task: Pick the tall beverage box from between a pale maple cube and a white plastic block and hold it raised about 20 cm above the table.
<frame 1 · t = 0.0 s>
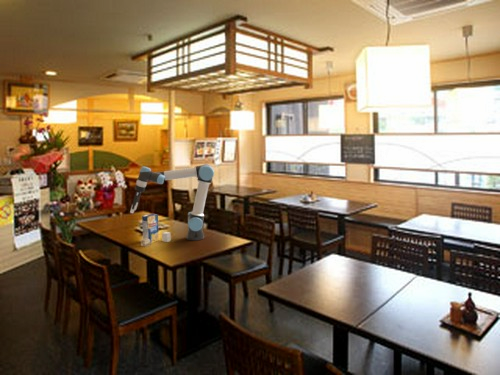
hand: (132, 211, 290), 28 cm above the table, tool tilted 20°, fingers open, 13 cm apart
white plastic block: (166, 240, 307), on the table
beverage box: (151, 241, 306), on the table
maple cube: (145, 245, 293), on the table
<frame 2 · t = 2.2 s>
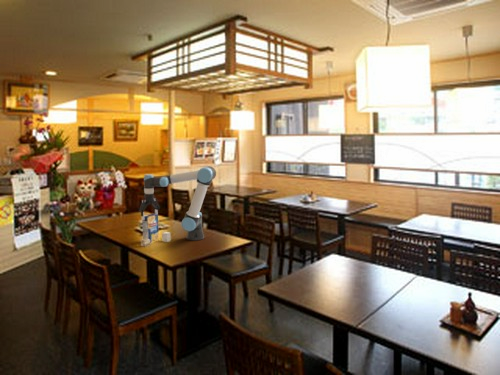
hand: (149, 218, 304), 19 cm above the table, tool pointing down, fingers open, 13 cm apart
nothing on the table moved.
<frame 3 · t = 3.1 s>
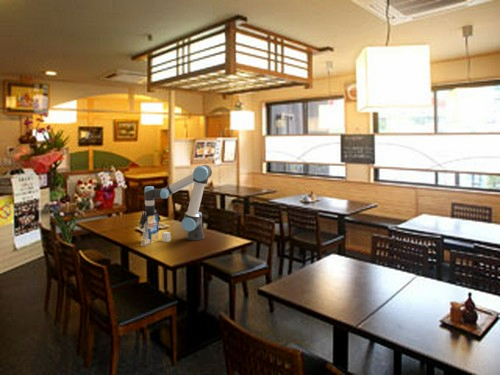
hand: (150, 230, 305), 9 cm above the table, tool pointing down, fingers open, 13 cm apart
nothing on the table moved.
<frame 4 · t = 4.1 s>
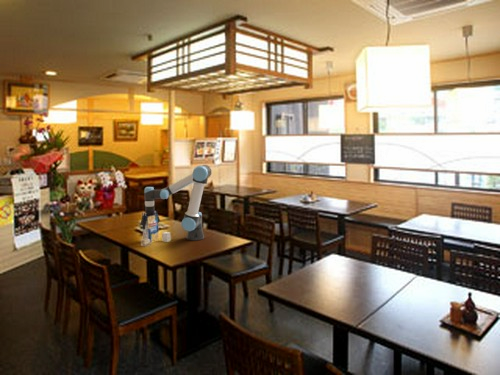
hand: (150, 231, 305), 8 cm above the table, tool pointing down, fingers closed on beverage box, 11 cm apart
beverage box: (151, 241, 306), on the table, touching gripper
everything else where it was.
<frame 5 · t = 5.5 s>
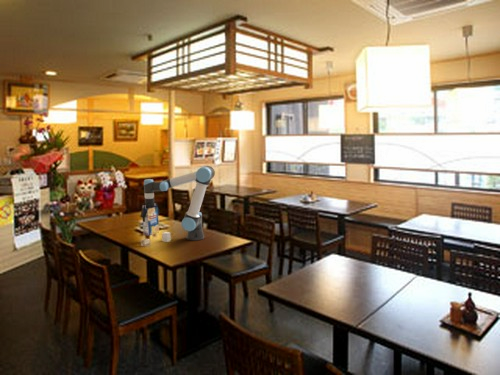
hand: (150, 224, 305), 15 cm above the table, tool pointing down, fingers closed on beverage box, 11 cm apart
beverage box: (151, 233, 306), point 6 cm above the table, touching gripper
everything else where it was.
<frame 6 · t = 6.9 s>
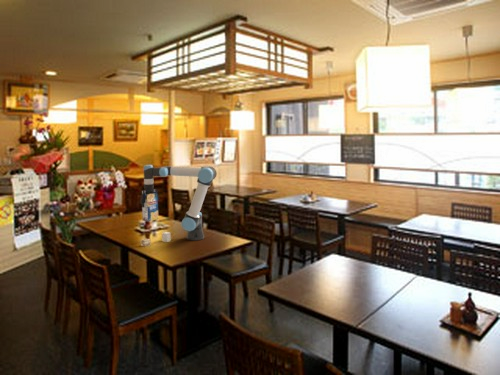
hand: (150, 210, 303), 26 cm above the table, tool pointing down, fingers closed on beverage box, 11 cm apart
beverage box: (150, 220, 304), point 18 cm above the table, touching gripper
everything else where it was.
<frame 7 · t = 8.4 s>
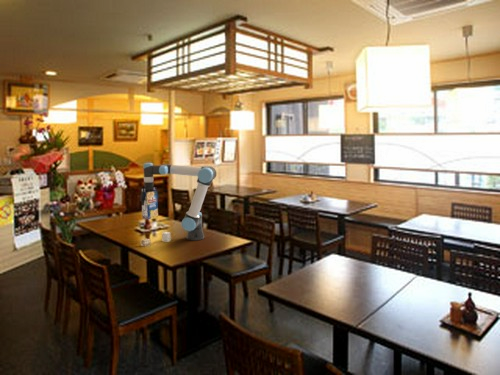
hand: (149, 208, 303), 28 cm above the table, tool pointing down, fingers closed on beverage box, 11 cm apart
beverage box: (150, 218, 304), point 20 cm above the table, touching gripper
everything else where it was.
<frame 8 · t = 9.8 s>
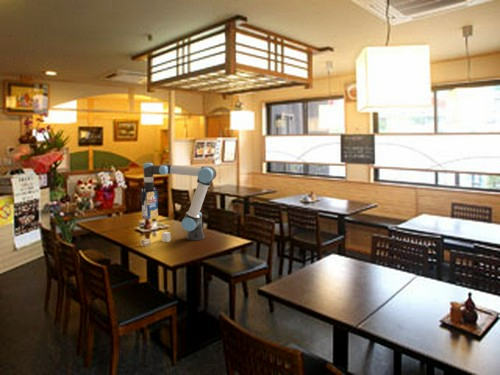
hand: (149, 208, 303), 28 cm above the table, tool pointing down, fingers closed on beverage box, 11 cm apart
beverage box: (150, 218, 304), point 20 cm above the table, touching gripper
everything else where it was.
at the end: the gripper is holding beverage box; beverage box point 19.7 cm above the table; maple cube moved 0.1 cm from its start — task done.
